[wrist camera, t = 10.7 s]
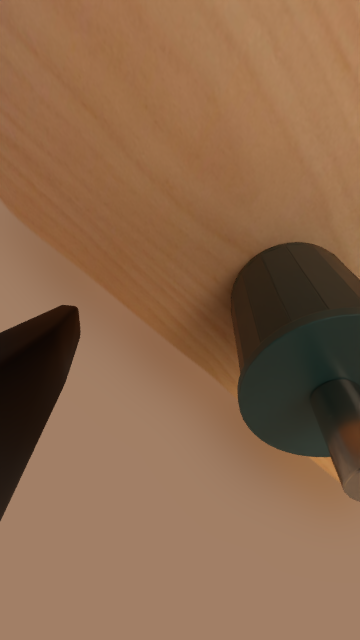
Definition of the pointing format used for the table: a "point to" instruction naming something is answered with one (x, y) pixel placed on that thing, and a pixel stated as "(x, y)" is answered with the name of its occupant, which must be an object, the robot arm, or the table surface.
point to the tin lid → (309, 390)
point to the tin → (287, 291)
